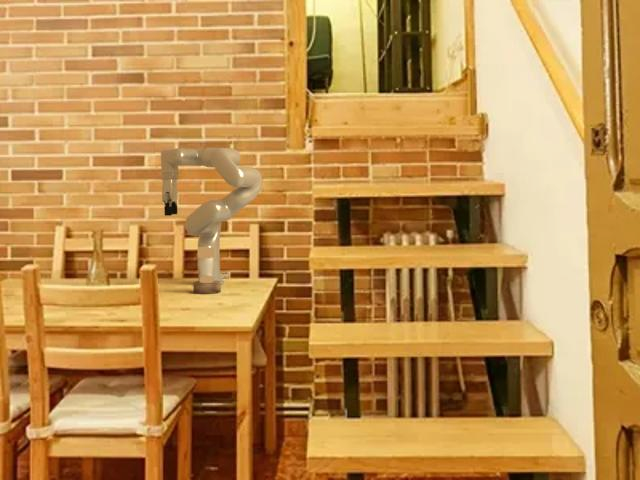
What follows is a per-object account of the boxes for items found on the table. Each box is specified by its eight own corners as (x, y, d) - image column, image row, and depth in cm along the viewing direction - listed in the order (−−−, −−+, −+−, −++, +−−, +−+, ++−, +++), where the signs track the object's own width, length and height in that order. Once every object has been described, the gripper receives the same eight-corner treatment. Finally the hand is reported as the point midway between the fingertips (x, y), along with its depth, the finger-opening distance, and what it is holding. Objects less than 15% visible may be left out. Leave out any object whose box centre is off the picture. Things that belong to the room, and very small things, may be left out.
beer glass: (194, 283, 290) (193, 246, 289) (203, 280, 297) (203, 245, 296) (209, 284, 288) (208, 247, 287) (218, 281, 294) (217, 245, 293)
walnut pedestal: (209, 289, 301) (209, 279, 300) (226, 291, 293) (225, 282, 293) (188, 292, 293) (187, 282, 292) (204, 295, 285) (204, 285, 285)
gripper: (166, 176, 328) (167, 213, 330) (156, 177, 311) (157, 216, 313) (182, 176, 328) (183, 213, 330) (173, 176, 311) (174, 215, 312)
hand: (171, 214), depth 321 cm, fingers open, 9 cm apart
